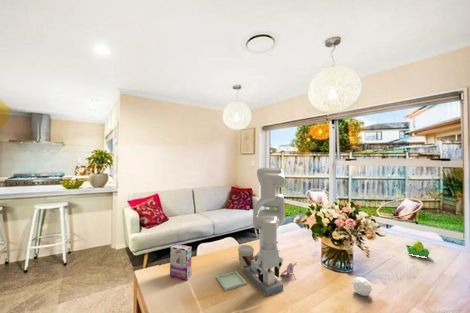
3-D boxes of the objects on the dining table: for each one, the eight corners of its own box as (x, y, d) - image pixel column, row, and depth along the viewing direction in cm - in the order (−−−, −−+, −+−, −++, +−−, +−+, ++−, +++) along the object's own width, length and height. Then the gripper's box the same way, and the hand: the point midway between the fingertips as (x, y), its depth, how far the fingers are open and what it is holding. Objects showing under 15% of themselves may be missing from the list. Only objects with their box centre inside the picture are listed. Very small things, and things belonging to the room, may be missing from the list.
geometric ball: (364, 302, 97) (363, 294, 93) (349, 287, 104) (348, 279, 100) (375, 293, 98) (375, 284, 95) (360, 279, 105) (360, 270, 101)
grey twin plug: (257, 272, 116) (257, 255, 116) (261, 276, 112) (261, 258, 113) (251, 274, 114) (251, 257, 114) (254, 278, 111) (255, 260, 111)
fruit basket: (427, 256, 140) (427, 239, 140) (430, 261, 133) (430, 244, 133) (405, 252, 146) (405, 236, 147) (408, 256, 139) (408, 240, 139)
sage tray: (236, 273, 116) (236, 270, 116) (246, 285, 105) (246, 282, 105) (216, 279, 110) (216, 275, 110) (225, 292, 99) (225, 288, 100)
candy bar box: (191, 276, 113) (192, 246, 113) (186, 281, 108) (187, 250, 109) (175, 272, 117) (175, 243, 117) (169, 276, 112) (169, 246, 112)
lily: (299, 274, 117) (292, 257, 121) (308, 277, 107) (300, 258, 110) (281, 283, 115) (274, 265, 118) (288, 287, 104) (280, 267, 107)
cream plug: (269, 284, 105) (269, 265, 105) (274, 288, 102) (274, 269, 102) (263, 286, 103) (263, 267, 104) (268, 290, 100) (268, 271, 100)
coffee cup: (242, 274, 115) (243, 252, 116) (235, 266, 124) (235, 246, 124) (256, 270, 120) (256, 249, 120) (248, 262, 128) (248, 243, 128)
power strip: (243, 274, 116) (244, 266, 116) (258, 269, 120) (258, 263, 120) (266, 297, 96) (266, 288, 96) (283, 291, 100) (283, 283, 100)
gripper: (278, 239, 110) (277, 270, 110) (250, 244, 102) (250, 278, 102) (287, 244, 103) (287, 278, 103) (258, 250, 96) (258, 287, 95)
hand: (268, 278), depth 103 cm, fingers open, 9 cm apart
